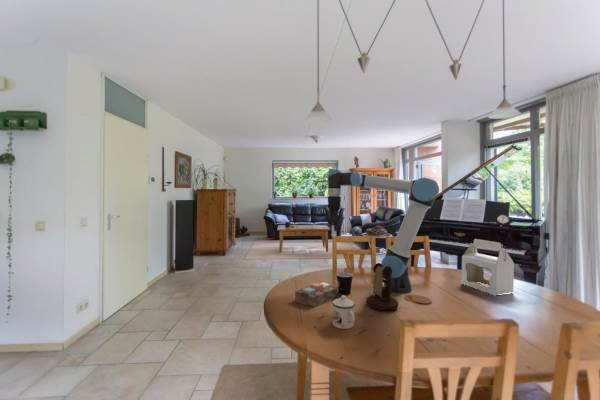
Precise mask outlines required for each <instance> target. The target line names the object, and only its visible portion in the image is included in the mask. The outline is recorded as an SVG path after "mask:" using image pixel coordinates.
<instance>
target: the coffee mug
mask: <svg viewBox="0 0 600 400" xmlns="http://www.w3.org/2000/svg"><path fill="white" fill-rule="evenodd" d="M353 276H354V275H353V273H350V272H338V273H336V283H337V288H338V289H337V294H339V295H341V296H343V295H344V296H350V295H351V291H352V283H353Z"/></svg>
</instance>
